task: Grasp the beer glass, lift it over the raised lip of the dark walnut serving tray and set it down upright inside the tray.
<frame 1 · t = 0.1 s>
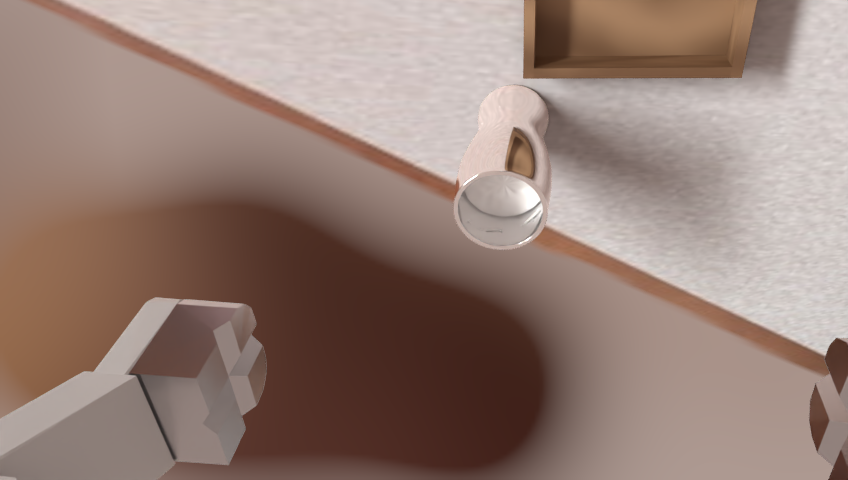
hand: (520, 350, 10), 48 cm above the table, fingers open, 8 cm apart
beer glass: (513, 116, 60), on the table
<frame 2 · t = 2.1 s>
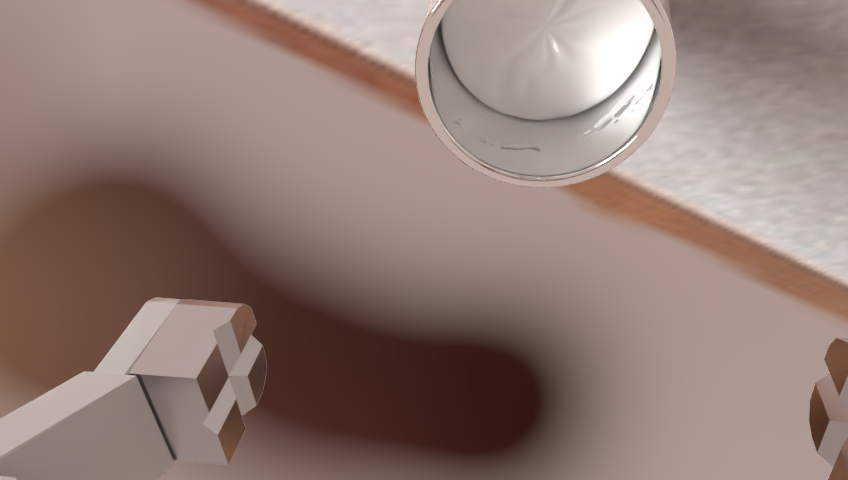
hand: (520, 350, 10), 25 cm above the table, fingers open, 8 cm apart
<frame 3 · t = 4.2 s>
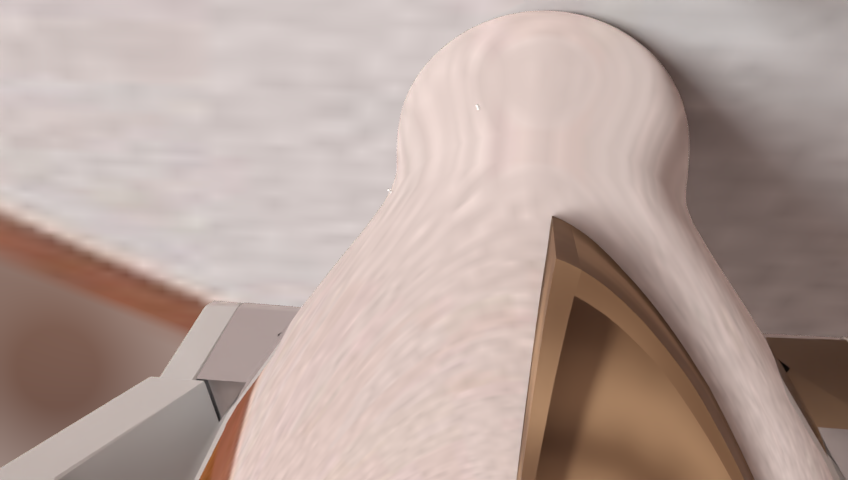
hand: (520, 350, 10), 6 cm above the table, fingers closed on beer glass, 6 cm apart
beer glass: (537, 145, 15), on the table, touching gripper
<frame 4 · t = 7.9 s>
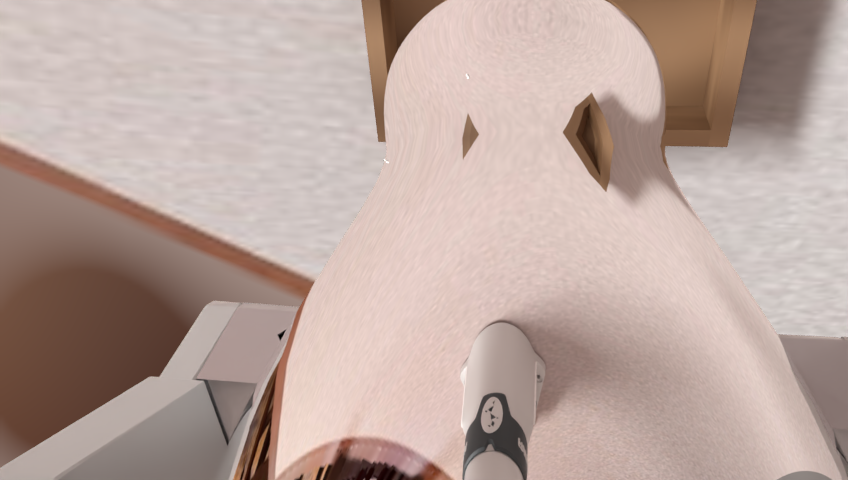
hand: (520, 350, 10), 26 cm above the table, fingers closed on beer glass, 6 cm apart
beer glass: (520, 107, 16), point 18 cm above the table, touching gripper
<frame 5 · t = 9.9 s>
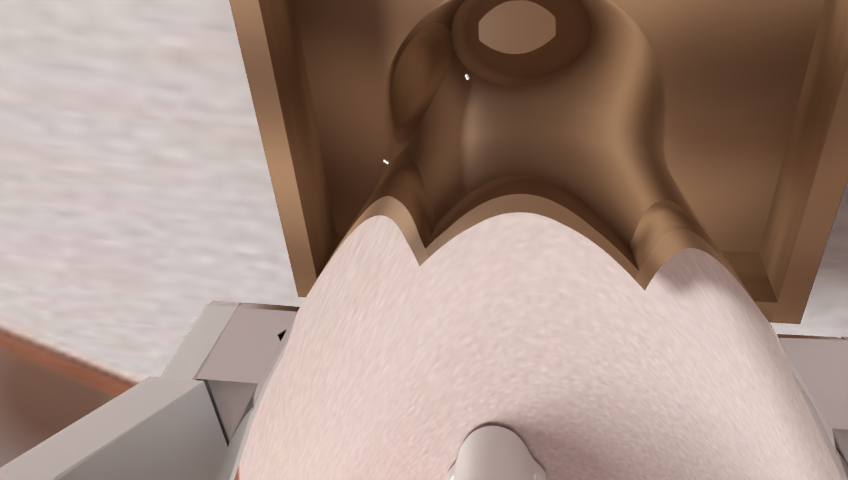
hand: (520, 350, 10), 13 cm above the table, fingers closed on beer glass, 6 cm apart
walnut tray: (543, 28, 21), on the table
beer glass: (519, 107, 16), point 6 cm above the table, touching gripper
when the fingers open (8 cm above the table, at t = 11.6 s): beer glass stays where it is, resting on walnut tray.
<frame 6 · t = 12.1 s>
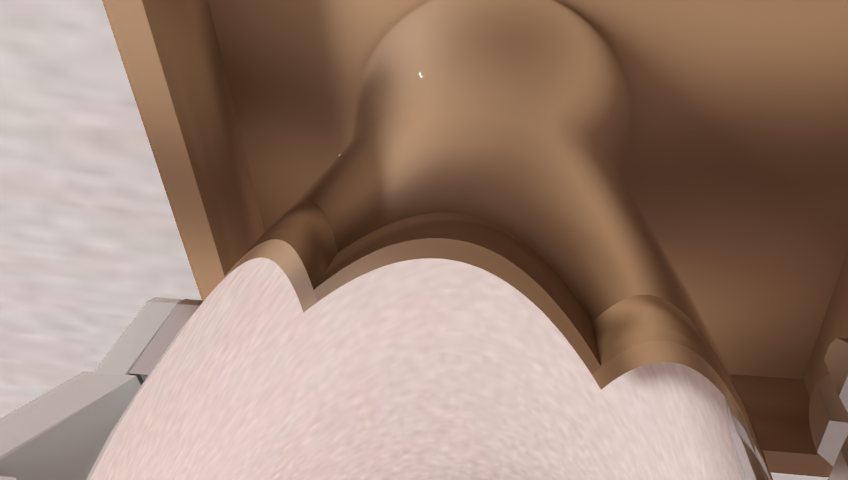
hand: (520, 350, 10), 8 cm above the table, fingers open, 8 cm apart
walnut tray: (538, 114, 17), on the table
beer glass: (490, 118, 16), point 1 cm above the table, touching gripper, walnut tray
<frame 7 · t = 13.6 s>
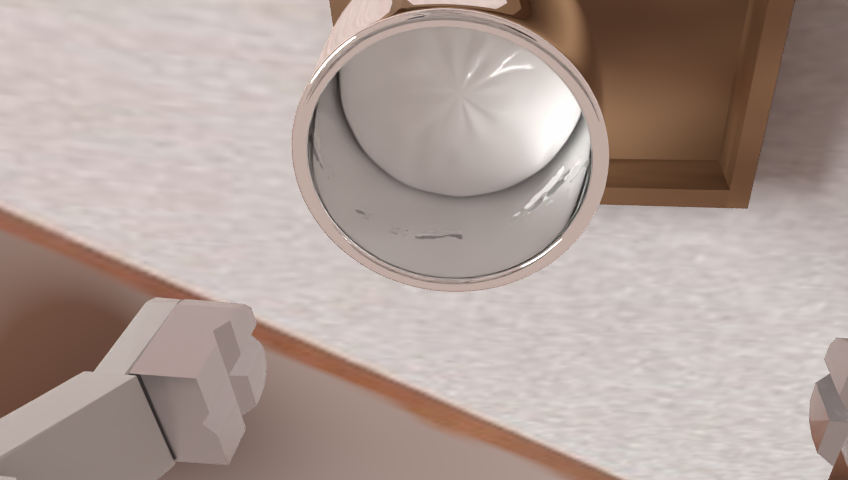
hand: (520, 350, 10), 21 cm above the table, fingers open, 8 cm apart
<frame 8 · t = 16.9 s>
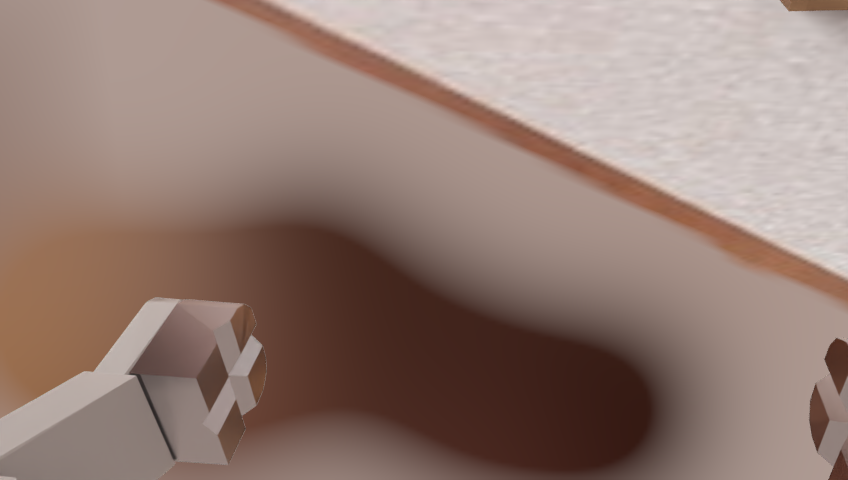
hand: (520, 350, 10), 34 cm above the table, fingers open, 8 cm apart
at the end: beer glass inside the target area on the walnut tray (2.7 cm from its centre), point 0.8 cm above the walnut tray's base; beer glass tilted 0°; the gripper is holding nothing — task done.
